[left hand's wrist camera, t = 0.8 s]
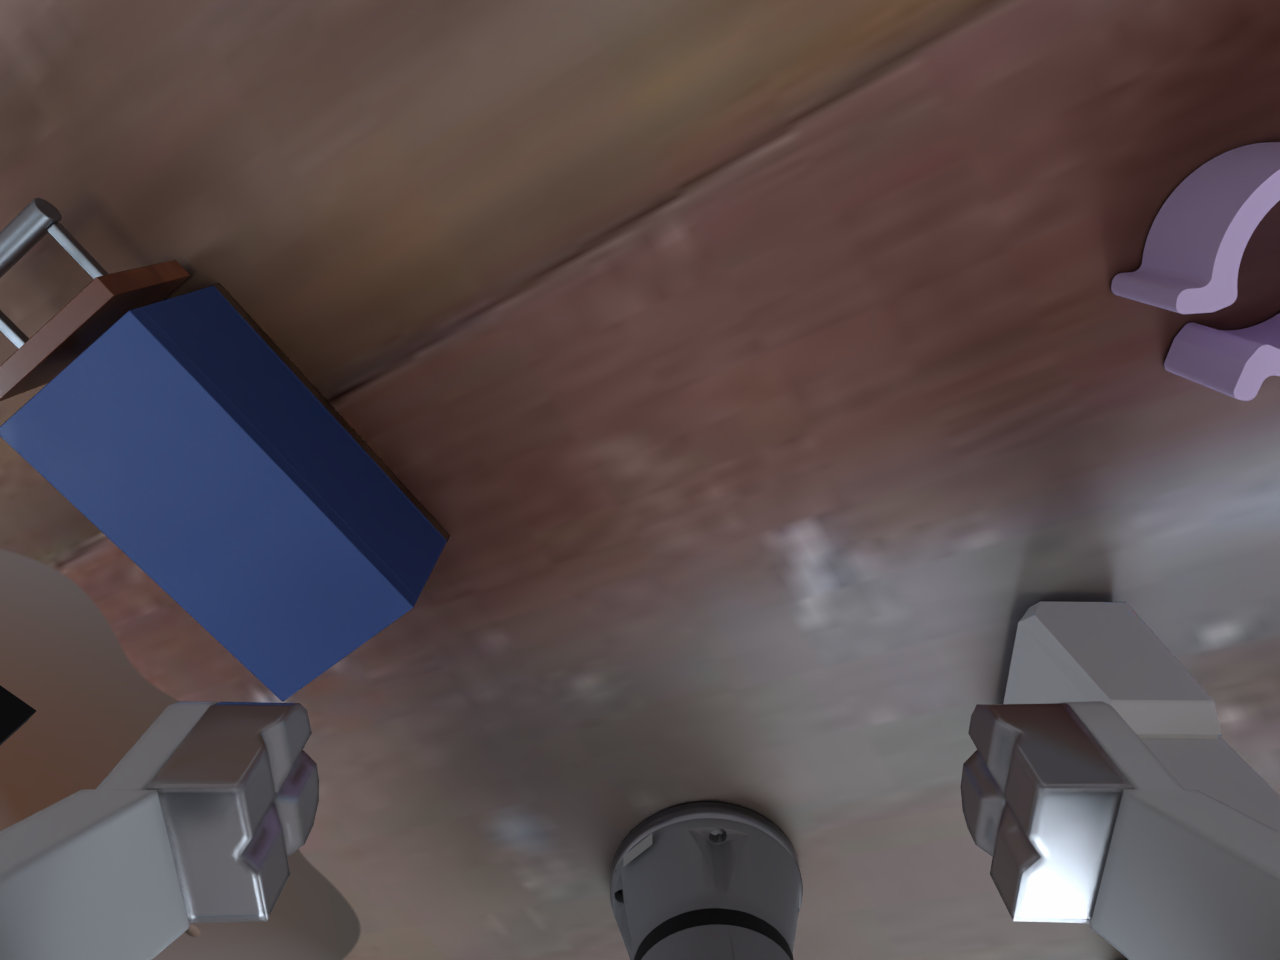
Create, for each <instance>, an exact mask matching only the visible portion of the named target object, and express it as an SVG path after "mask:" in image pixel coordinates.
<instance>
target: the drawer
mask: <svg viewBox="0 0 1280 960" xmlns="http://www.w3.org/2000/svg"><path fill="white" fill-rule="evenodd" d="M60 220H61V214H60V212H59V211H58V210H57V209H56V208H55V207H54V206H53V205H52V204H50V203H49V202H47V201H46V200H43V199H40V198H36V199H34V200H33V201H32V202H31V203H30V204H29V205H28V206H27V207H26V208H24V209H23V210H22V211H21V212H20V213H19V214H18V215H17V216H16V217H15V218H14V219H13V220H12V221H11V222H10V223H9V224H8V225H7V226H6V227H5V228H4V229H3V230H2V231H1V232H0V278H1V277H2V276H3V275H4V274H5V273H6V272H7V271H8V270H9V269H10V268H11V267H12V266H13V265H14V264H15V263H16V262H18V261H19V260H20V259H21V258H22V257H23V256H24V255H25V254H26V253H27V252H28V251H29V250H30V249H31V248H32V247H33V246H34V245H35V244H36V243H37V242H38V241H39V240H40V239H41V238H43V237H44V236H45V235H46V234H47V233H48V232H49V233H50V234H51V235H52V236H53V237H54V238H55V239H56V240H57V241H58V242H59V244H60V245H61V246H62V247H63V248H64V249H65V250H66V251H67V252H68V253H69V254H70V255H71V256H72V257H73V258H74V259H75V260H76V261H77V262H78V263H79V264H80V265H81V266H82V268H83V269H84V270H85V271H86V272H87V273H88V274H89V275H90V276H91V277H92V278H93V279H94V280H93V281H92V282H91V283H89V284H88V285H87V286H86V287H85V288H84V289H83V290H82V291H81V292H80V293H79V294H78V295H77V296H75V297H74V298H73V299H72V300H71V301H70V302H69V303H68V304H67V305H66V306H65V307H64V308H62V309H61V310H60V311H59V312H58V313H57V314H56V315H55V316H54V317H53V318H52V319H51V320H49V321H48V322H47V323H46V324H45V325H44V326H43V327H42V328H41V329H40V330H39V331H38V332H37V333H35V334H34V335H33V336H32V337H31V338H30V339H29V338H28V337H27V336H26V335H25V334H24V333H23V332H22V331H21V330H20V329H19V328H18V327H17V326H16V325H15V324H14V323H13V322H12V321H11V320H10V319H9V318H8V317H7V316H6V315H5V314H4V313H3V312H2V311H1V310H0V331H1V332H2V333H3V334H4V335H5V336H6V337H7V338H8V339H9V340H10V341H11V342H12V343H13V344H14V345H15V346H16V347H17V348H18V350H17V351H16V352H15V353H14V354H13V355H12V356H11V357H10V358H8V359H7V360H6V361H5V362H4V363H3V364H2V365H1V366H0V401H2V400H4V399H7V398H10V397H12V396H15V395H18V394H20V393H23V392H26V391H28V390H31V389H34V388H36V387H39V386H42V385H44V384H47V383H49V382H50V381H51V380H53V379H54V378H55V377H56V376H57V375H58V374H59V373H60V372H61V371H63V370H64V369H65V368H66V367H67V366H68V365H69V364H70V363H71V362H73V361H74V360H75V359H76V358H77V357H78V356H79V355H80V354H81V353H82V352H84V351H85V350H86V349H87V348H88V347H89V346H90V345H91V344H92V343H94V342H95V341H96V340H97V339H98V338H99V337H100V336H101V335H102V334H104V333H105V332H106V331H107V330H108V329H109V328H110V327H111V326H112V325H114V324H115V323H116V322H117V321H118V320H119V319H120V318H121V317H122V316H124V315H125V314H126V313H127V312H128V311H129V310H133V309H136V308H140V307H143V306H147V305H150V304H153V303H157V302H160V301H163V300H164V299H165V298H166V297H167V296H168V295H169V294H170V293H171V292H173V291H174V290H175V289H176V288H177V287H178V286H179V285H180V284H182V283H183V282H184V281H185V280H186V279H187V278H188V277H189V276H190V275H189V274H188V273H187V272H186V271H185V270H184V268H183V267H182V266H181V265H180V264H179V263H178V262H177V261H176V260H173V261H168V262H164V263H159V264H154V265H150V266H145V267H141V268H136V269H131V270H127V271H122V272H118V273H113V274H108V273H107V272H106V271H105V270H104V269H103V268H102V267H101V266H100V265H99V264H98V262H97V261H96V260H95V259H94V258H93V257H92V256H91V255H90V254H89V253H88V252H87V251H86V250H85V249H84V248H83V247H82V246H81V245H80V244H79V242H78V241H77V240H76V239H75V238H74V237H73V236H72V235H71V234H70V233H69V232H68V231H67V230H66V229H65V228H64V227H63V226H62V225H61V224H60V223H58V222H59V221H60Z"/></svg>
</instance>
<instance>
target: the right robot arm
mask: <svg viewBox="0 0 1280 960" xmlns="http://www.w3.org/2000/svg"><path fill="white" fill-rule="evenodd" d="M35 712H36V710H35V709H33V708H32V707H30V706H29V705H27V704H26V703H25V702H23V701H22V700H20V699H19V698H17V697H16V696H15V695H13V694H12V693H10V692H9V691H7V690H6V689H4V688H3V687H2V686H0V745H1V744H2V743H3V742H4V741H6V740H7V739H8V738H9V737H10V736H11V735H12V734H13V733H14V732H15V731H17V730H18V729H19V728H20V727H21V726H22V725H23V724H24V723H25V722H27V720H28V719H29V718H30V717H31V716H32V715H33V714H34V713H35ZM802 889H803V886H802V878H801V874H800V870H799V865H798V861H797V857H796V854H795V851H794V849H793V847H792V845H791V843H790V842H789V840H788V839H787V837H786V836H785V835H784V834H783V832H782V831H781V830H780V829H779V828H778V827H777V826H775V825H774V824H773V823H772V822H770V821H769V820H768V819H766V818H764V817H763V816H761V815H759V814H757V813H755V812H753V811H751V810H748V809H745V808H742V807H739V806H735V805H730V804H725V803H715V802H700V803H690V804H684V805H679V806H676V807H672V808H669V809H667V810H664V811H661V812H659V813H657V814H655V815H653V816H651V817H650V818H648V819H646V820H645V821H643V822H642V823H641V824H639V825H638V826H637V827H636V828H634V829H633V830H632V831H631V832H630V833H629V834H628V836H627V837H626V838H625V839H624V841H623V842H622V843H621V845H620V847H619V848H618V850H617V853H616V855H615V857H614V861H613V864H612V870H611V890H610V897H611V904H612V909H613V912H614V915H615V918H616V921H617V924H618V926H619V929H620V932H621V935H622V937H623V940H624V943H625V946H626V948H627V951H628V954H629V956H630V959H631V960H793V954H792V952H793V946H794V939H795V933H796V926H797V918H798V913H799V910H800V906H801V901H802Z"/></svg>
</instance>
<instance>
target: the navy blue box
mask: <svg viewBox="0 0 1280 960" xmlns="http://www.w3.org/2000/svg"><path fill="white" fill-rule="evenodd" d="M0 436H1V437H2V438H3V439H4V440H5V441H6V442H7V443H8V444H9V445H10V446H11V447H12V448H13V449H14V450H16V451H17V452H18V453H19V454H20V455H21V456H22V457H23V458H24V459H25V460H26V461H27V462H28V463H29V464H30V465H31V466H33V467H34V468H35V469H36V470H37V471H38V472H39V473H40V474H41V475H42V476H43V477H44V478H45V479H46V480H47V481H48V482H50V483H51V484H52V485H53V486H54V487H55V488H56V489H57V490H58V491H59V492H60V493H61V494H62V495H63V496H64V497H65V498H67V499H68V500H69V501H70V502H71V503H72V504H73V505H74V506H75V507H76V508H77V509H78V510H79V511H80V512H81V513H82V514H84V515H85V516H86V517H87V518H88V519H89V520H90V521H91V522H92V523H93V524H94V525H95V526H96V527H97V528H98V529H99V530H101V531H102V532H103V533H104V534H105V535H106V536H107V537H108V538H109V539H110V540H111V541H112V542H113V543H114V544H115V545H116V546H118V547H119V548H120V549H121V550H122V551H123V552H124V553H125V554H126V555H127V556H128V557H129V558H130V559H131V560H132V561H133V562H135V563H136V564H137V565H138V566H139V567H140V568H141V569H142V570H143V571H144V572H145V573H146V574H147V575H148V576H149V577H151V578H152V579H153V580H154V581H155V582H156V583H157V584H158V585H159V586H160V587H161V588H162V589H163V590H164V591H165V592H166V593H168V594H169V595H170V596H171V597H172V598H173V599H174V600H175V601H176V602H177V603H178V604H179V605H180V606H181V607H182V608H183V609H185V610H186V611H187V612H188V613H189V614H190V615H191V616H192V617H193V618H194V619H195V620H196V621H197V622H198V623H199V624H200V625H202V626H203V627H204V628H205V629H206V630H207V631H208V632H209V633H210V634H211V635H212V636H213V637H214V638H215V639H216V640H217V641H219V642H220V643H221V644H222V645H223V646H224V647H225V648H226V649H227V650H228V651H229V652H230V653H231V654H232V655H233V656H234V657H236V658H237V659H238V660H239V661H240V662H241V663H242V664H243V665H244V666H245V667H246V668H247V669H248V670H249V671H250V672H251V673H253V674H254V675H255V676H256V677H257V678H258V679H259V680H260V681H261V682H262V683H263V684H264V685H265V686H266V687H267V688H268V689H270V690H271V691H272V692H273V693H274V694H275V695H276V696H277V697H278V698H279V699H280V700H281V701H284V700H286V699H287V698H289V697H290V696H291V695H293V694H294V693H295V692H297V691H298V690H300V689H301V688H302V687H304V686H305V685H307V684H308V683H309V682H311V681H312V680H314V679H315V678H316V677H318V676H319V675H320V674H322V673H323V672H325V671H326V670H327V669H329V668H330V667H332V666H333V665H334V664H336V663H337V662H339V661H340V660H341V659H343V658H344V657H345V656H347V655H348V654H350V653H351V652H352V651H354V650H355V649H357V648H358V647H359V646H361V645H362V644H364V643H365V642H366V641H368V640H369V639H370V638H372V637H373V636H375V635H376V634H377V633H379V632H380V631H382V630H383V629H384V628H386V627H387V626H388V625H390V624H391V623H393V622H394V621H395V620H397V619H398V618H400V617H401V616H402V615H404V614H405V613H407V612H408V611H409V610H411V609H412V608H413V607H414V605H415V603H416V601H417V599H418V597H419V595H420V593H421V591H422V589H423V587H424V585H425V583H426V581H427V579H428V577H429V575H430V573H431V572H432V570H433V568H434V566H435V564H436V562H437V560H438V558H439V556H440V554H441V552H442V550H443V548H444V546H445V544H446V542H447V541H448V539H449V537H450V536H449V534H448V533H447V532H446V531H445V530H444V529H443V528H442V527H441V526H440V525H439V523H438V522H437V521H436V520H435V519H434V518H433V517H432V516H431V515H430V514H429V512H428V511H427V510H426V509H425V508H424V507H423V506H422V505H421V504H420V503H419V501H418V500H417V499H416V498H415V497H414V496H413V495H412V494H411V493H410V492H409V491H408V489H407V488H406V487H405V486H404V485H403V484H402V483H401V482H400V481H399V480H398V478H397V477H396V476H395V475H394V474H393V473H392V472H391V471H390V470H389V469H388V467H387V466H386V465H385V464H384V463H383V462H382V461H381V460H380V459H379V458H378V456H377V455H376V454H375V453H374V452H373V451H372V450H371V449H370V448H369V447H368V446H367V444H366V443H365V442H364V441H363V440H362V439H361V438H360V437H359V436H358V435H357V433H356V432H355V431H354V430H353V429H352V428H351V427H350V426H349V425H348V424H347V422H346V421H345V420H344V419H343V418H342V417H341V416H340V415H339V414H338V413H337V412H336V410H335V409H334V408H333V407H332V406H331V405H330V404H329V403H328V402H327V401H326V399H325V398H324V397H323V396H322V395H321V394H320V393H319V392H318V391H317V390H316V388H315V387H314V386H313V385H312V384H311V383H310V382H309V381H308V380H307V379H306V377H305V376H304V375H303V374H302V373H301V372H300V371H299V370H298V369H297V368H296V367H295V365H294V364H293V363H292V362H291V361H290V360H289V359H288V358H287V357H286V356H285V354H284V353H283V352H282V351H281V350H280V349H279V348H278V347H277V346H276V345H275V343H274V342H273V341H272V340H271V339H270V338H269V337H268V336H267V335H266V334H265V332H264V331H263V330H262V329H261V328H260V327H259V326H258V325H257V324H256V323H255V322H254V320H253V319H252V318H251V317H250V316H249V315H248V314H247V313H246V312H245V311H244V309H243V308H242V307H241V306H240V305H239V304H238V303H237V302H236V301H235V300H234V298H233V297H232V296H231V295H230V294H229V293H228V292H227V291H226V290H225V289H224V287H223V286H222V285H221V284H220V283H219V284H215V285H213V286H211V287H207V288H204V289H201V290H197V291H194V292H190V293H187V294H184V295H180V296H177V297H174V298H170V299H167V300H164V301H160V302H157V303H153V304H150V305H147V306H143V307H140V308H136V309H133V310H129V311H128V312H127V313H126V314H125V315H124V316H122V317H121V318H120V319H119V320H118V321H117V322H116V323H115V324H114V325H112V326H111V327H110V328H109V329H108V330H107V331H106V332H105V333H104V334H102V335H101V336H100V337H99V338H98V339H97V340H96V341H95V342H94V343H92V344H91V345H90V346H89V347H88V348H87V349H86V350H85V351H84V352H82V353H81V354H80V355H79V356H78V357H77V358H76V359H75V360H74V361H73V362H71V363H70V364H69V365H68V366H67V367H66V368H65V369H64V370H63V371H61V372H60V373H59V374H58V375H57V376H56V377H55V378H54V379H53V380H51V381H50V382H49V383H48V384H47V385H46V386H45V387H44V388H43V389H41V390H40V391H39V392H38V393H37V394H36V395H35V396H34V397H33V398H32V399H30V400H29V401H28V402H27V403H26V404H25V405H24V406H23V407H22V408H20V409H19V410H18V411H17V412H16V413H15V414H14V415H13V416H12V417H10V418H9V419H8V420H7V421H6V422H5V423H4V424H3V425H2V426H0Z"/></svg>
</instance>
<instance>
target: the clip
mask: <svg viewBox="0 0 1280 960" xmlns="http://www.w3.org/2000/svg"><path fill="white" fill-rule="evenodd" d="M1279 200H1280V142H1266V143H1256V144H1250V145H1246V146H1242V147H1238V148H1235V149H1232V150H1230V151H1227V152H1225V153H1223V154H1221V155H1219V156H1217V157H1215V158H1213V159H1211V160H1210V161H1208V162H1206V163H1205V164H1203V165H1202V166H1201V167H1199V168H1198V169H1196V170H1195V171H1194V172H1193V173H1191V174H1190V175H1189V176H1188V177H1187V178H1186V179H1185V180H1184V181H1183V182H1182V183H1181V184H1180V185H1179V186H1178V187H1177V188H1176V189H1175V190H1174V191H1173V192H1172V194H1171V195H1170V196H1169V197H1168V199H1167V200H1166V202H1165V203H1164V204H1163V206H1162V208H1161V209H1160V211H1159V212H1158V214H1157V216H1156V218H1155V220H1154V222H1153V224H1152V226H1151V229H1150V231H1149V234H1148V237H1147V240H1146V243H1145V247H1144V252H1143V258H1142V264H1141V266H1140V268H1139V269H1138V270H1136V271H1134V272H1127V273H1119V274H1117V275H1116V276H1115V277H1114V278H1113V280H1112V285H1111V290H1112V293H1113V294H1115V295H1117V296H1121V297H1124V298H1128V299H1131V300H1135V301H1138V302H1142V303H1145V304H1149V305H1152V306H1156V307H1159V308H1163V309H1166V310H1170V311H1173V312H1177V313H1180V314H1197V313H1210V312H1215V311H1218V310H1220V309H1222V308H1225V307H1227V306H1230V305H1231V304H1233V303H1234V302H1235V300H1236V298H1237V279H1238V271H1239V266H1240V262H1241V258H1242V255H1243V252H1244V250H1245V247H1246V245H1247V243H1248V241H1249V239H1250V237H1251V235H1252V233H1253V232H1254V230H1255V228H1256V227H1257V225H1258V224H1259V222H1260V221H1261V220H1262V219H1263V217H1264V216H1265V215H1266V214H1267V213H1268V211H1269V210H1270V209H1271V208H1272V207H1273V206H1274V205H1275V204H1276V203H1277V202H1278V201H1279ZM1164 368H1165V369H1166V370H1167V371H1169V372H1171V373H1174V374H1176V375H1179V376H1181V377H1184V378H1186V379H1189V380H1191V381H1194V382H1196V383H1199V384H1201V385H1204V386H1206V387H1209V388H1211V389H1214V390H1216V391H1218V392H1221V393H1223V394H1226V395H1228V396H1231V397H1233V398H1236V399H1239V400H1243V401H1249V400H1251V399H1253V398H1254V397H1255V396H1256V395H1257V393H1258V391H1259V389H1260V386H1261V384H1262V382H1263V381H1264V380H1265V379H1266V378H1267V377H1269V376H1272V375H1276V376H1280V313H1279V314H1277V315H1276V316H1274V317H1272V318H1271V319H1269V320H1267V321H1265V322H1262V323H1260V324H1257V325H1255V326H1252V327H1248V328H1244V329H1239V330H1217V329H1214V328H1210V327H1207V326H1203V325H1200V324H1197V323H1188V324H1186V325H1185V326H1184V327H1183V328H1182V329H1181V331H1180V332H1179V333H1178V334H1177V336H1176V337H1175V338H1174V340H1173V343H1172V345H1171V347H1170V350H1169V352H1168V355H1167V357H1166V360H1165V362H1164Z"/></svg>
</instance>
